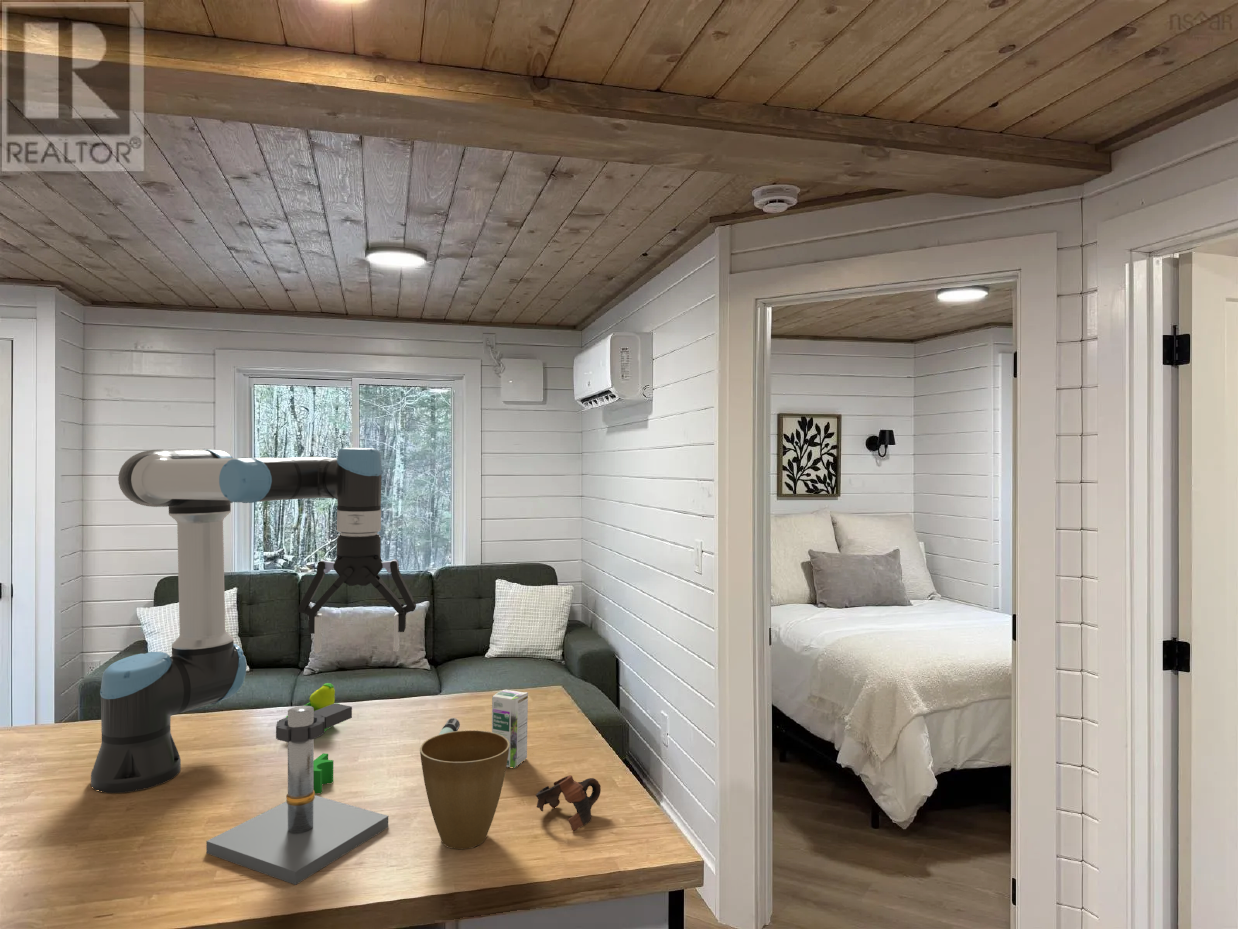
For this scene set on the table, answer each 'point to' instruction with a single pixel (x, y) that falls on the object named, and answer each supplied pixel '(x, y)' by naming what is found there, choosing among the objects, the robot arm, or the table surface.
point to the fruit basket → (322, 697)
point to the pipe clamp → (322, 772)
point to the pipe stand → (297, 839)
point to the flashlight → (450, 726)
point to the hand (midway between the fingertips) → (357, 650)
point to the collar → (314, 724)
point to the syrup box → (511, 722)
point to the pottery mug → (571, 798)
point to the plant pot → (464, 783)
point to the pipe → (300, 774)
